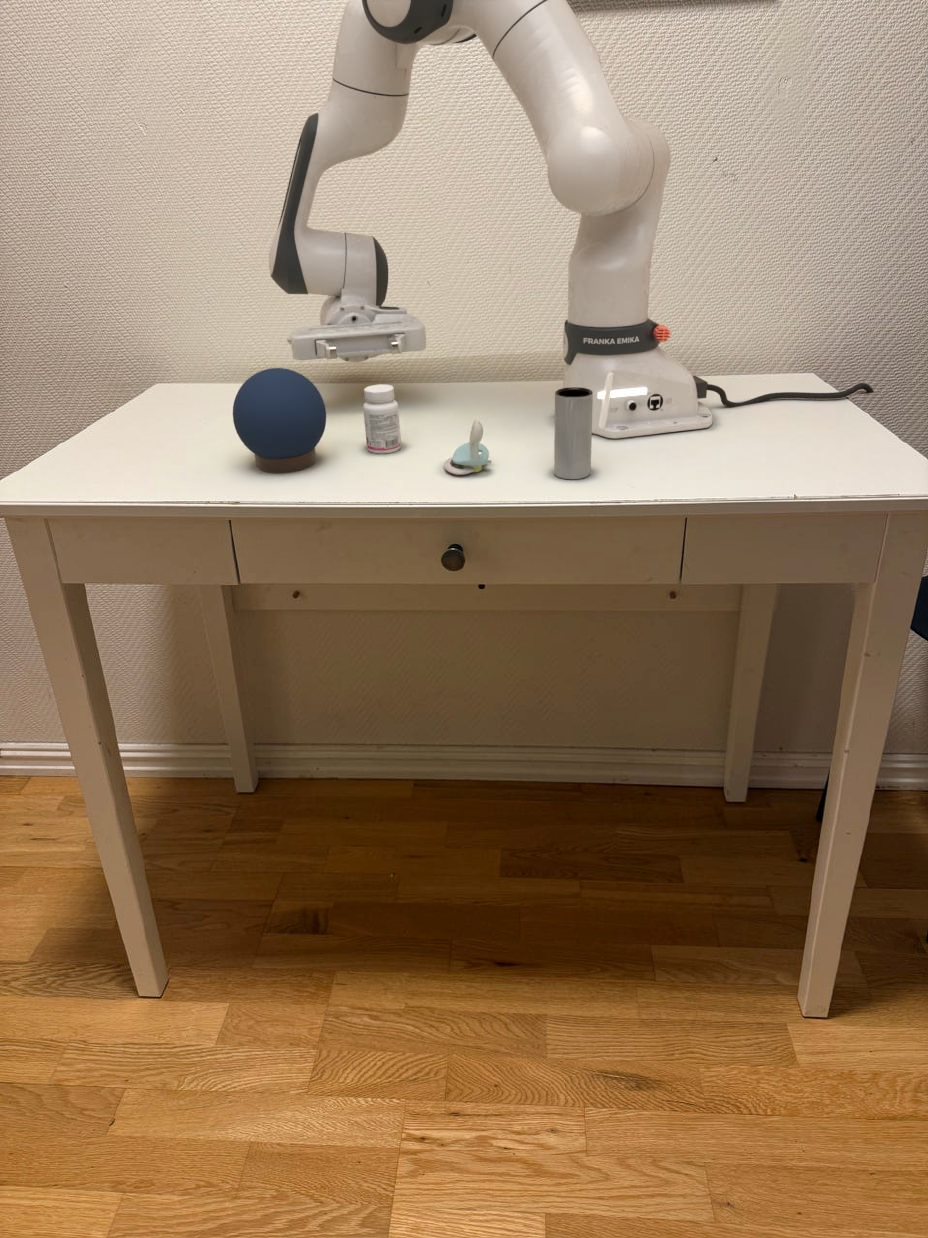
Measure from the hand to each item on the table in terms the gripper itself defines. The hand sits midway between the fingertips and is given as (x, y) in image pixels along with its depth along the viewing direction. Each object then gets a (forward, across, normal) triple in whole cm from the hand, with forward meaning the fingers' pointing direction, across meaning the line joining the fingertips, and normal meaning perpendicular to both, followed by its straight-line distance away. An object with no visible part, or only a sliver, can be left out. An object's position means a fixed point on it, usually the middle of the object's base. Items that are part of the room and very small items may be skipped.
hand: (364, 350), depth 131 cm
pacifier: (+24, +9, +11) cm, 28 cm away
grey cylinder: (+30, +22, +11) cm, 39 cm away
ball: (+14, -13, +11) cm, 22 cm away
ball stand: (+14, -13, +11) cm, 22 cm away
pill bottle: (+12, 0, +11) cm, 17 cm away
